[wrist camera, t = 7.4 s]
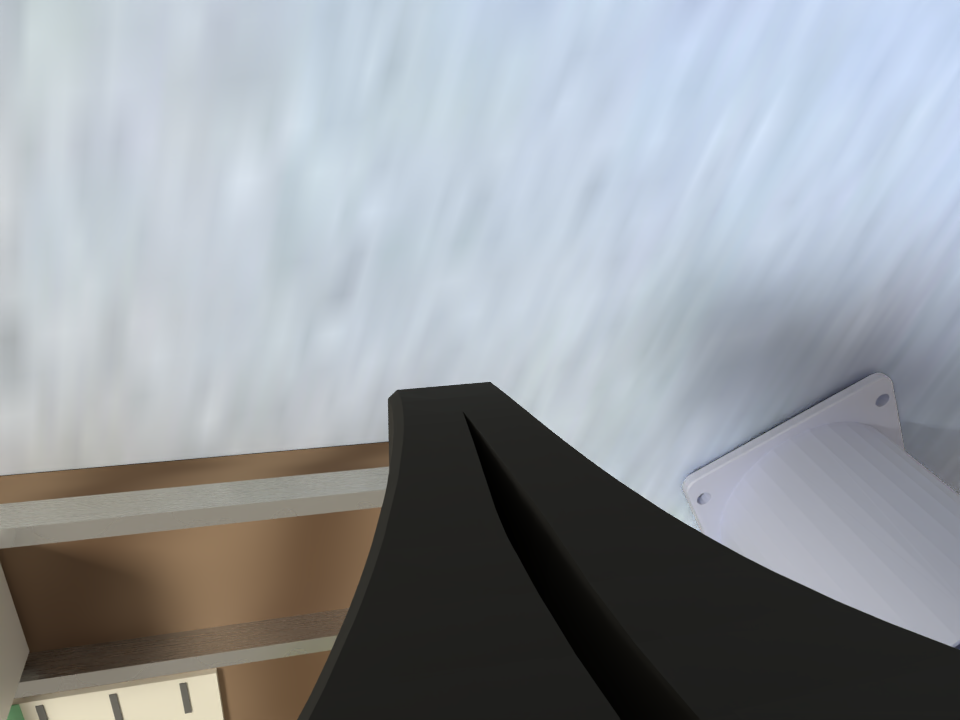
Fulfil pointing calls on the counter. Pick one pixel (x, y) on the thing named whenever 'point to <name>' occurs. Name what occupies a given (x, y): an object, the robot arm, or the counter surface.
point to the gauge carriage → (10, 648)
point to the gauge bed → (196, 569)
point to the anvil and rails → (172, 513)
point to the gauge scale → (130, 700)
